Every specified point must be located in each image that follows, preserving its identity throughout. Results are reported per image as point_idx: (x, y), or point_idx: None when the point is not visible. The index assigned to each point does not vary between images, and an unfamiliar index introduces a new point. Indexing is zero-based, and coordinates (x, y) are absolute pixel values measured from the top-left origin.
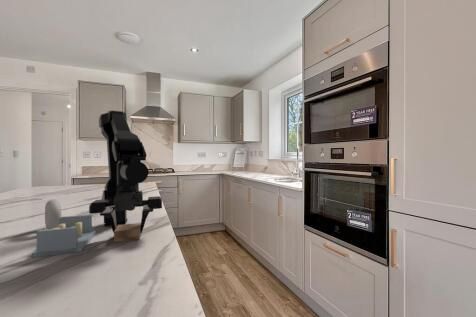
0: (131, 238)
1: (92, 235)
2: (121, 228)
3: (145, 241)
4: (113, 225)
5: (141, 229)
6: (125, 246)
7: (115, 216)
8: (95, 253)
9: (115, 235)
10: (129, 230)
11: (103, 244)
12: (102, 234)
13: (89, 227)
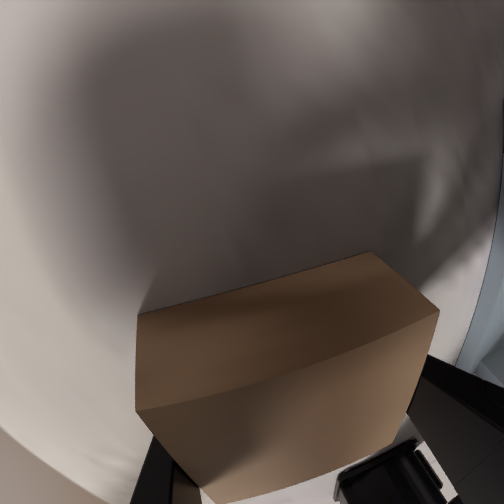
0: (220, 307)
1: (479, 330)
2: (373, 398)
3: (47, 264)
4: (459, 389)
5: None
6: (221, 114)
7: (457, 480)
8: (431, 17)
9: (399, 288)
10: (270, 374)
11: (431, 209)
12: None
13: (499, 372)
